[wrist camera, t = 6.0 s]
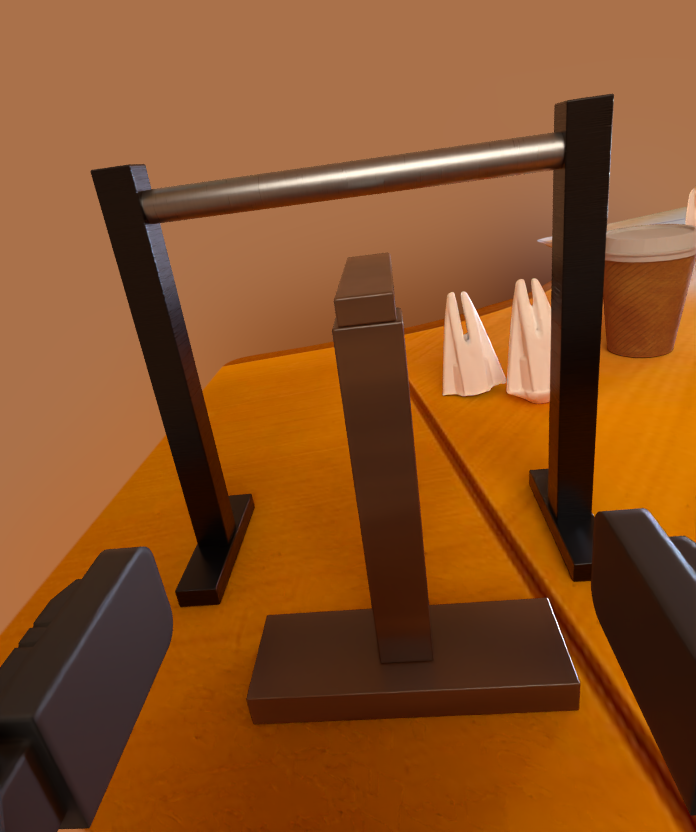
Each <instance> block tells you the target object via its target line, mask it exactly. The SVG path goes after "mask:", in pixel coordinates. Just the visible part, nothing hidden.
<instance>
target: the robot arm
mask: <svg viewBox="0 0 696 832" xmlns="http://www.w3.org/2000/svg"><path fill="white" fill-rule="evenodd" d="M591 591H592V598H593V604H594V608H595V611H596V615H597V617H598V620H599V622H600V624H601V627H602V629H603V631H604V633H605V635H606V637H607V639H608V641H609V644H610V646H611V648H612V650H613V652H614V654H615V656H616V658H617V660H618V663H619V665H620V667H621V669H622V671H623V673H624V675H625V677H626V680H627V682H628V684H629V686H630V688H631V690H632V692H633V694H634V696H635V699H636V701H637V703H638V705H639V707H640V709H641V711H642V713H643V716H644V718H645V720H646V722H647V724H648V726H649V728H650V730H651V732H652V735H653V737H654V739H655V741H656V743H657V745H658V747H659V749H660V751H661V754H662V756H663V758H664V760H665V762H666V764H667V766H668V768H669V771H670V773H671V775H672V777H673V779H674V781H675V783H676V785H677V787H678V790H679V792H680V794H681V796H682V798H683V800H684V802H685V804H686V807H687V809H688V811H689V813H690V815H696V543H695V542H693V541H692V540H690V539H689V538H687V537H686V536H675V537H668V536H667V534H666V533H665V532H664V530H663V529H662V528H661V526H660V525H659V524H658V523H657V521H656V520H655V519H654V517H653V516H652V515H651V513H650V512H649V511H648V510H646V509H644V508H641V509H628V510H615V511H603V512H598V513H597V514H596V516H595V519H594V532H593V553H592V573H591ZM33 625H34V626H33V628H29V630H28V631H27V632H26V634H25V635H24V636H23V638H22V639H21V640H20V642H19V647H18V648H14V650H13V651H12V652H11V654H10V655H9V656H8V658H7V659H6V660H5V662H4V663H3V664H2V666H1V667H0V832H57V831H58V829H83V828H90V826H91V824H92V821H93V819H94V817H95V815H96V812H97V810H98V808H99V805H100V803H101V801H102V798H103V796H104V794H105V792H106V789H107V787H108V785H109V782H110V780H111V778H112V776H113V773H114V771H115V769H116V766H117V764H118V762H119V759H120V757H121V755H122V753H123V750H124V748H125V746H126V743H127V741H128V739H129V737H130V734H131V732H132V730H133V727H134V725H135V723H136V721H137V718H138V716H139V714H140V711H141V709H142V707H143V704H144V702H145V700H146V698H147V695H148V693H149V691H150V688H151V686H152V684H153V682H154V679H155V677H156V675H157V672H158V670H159V668H160V665H161V663H162V661H163V659H164V656H165V654H166V652H167V649H168V647H169V644H170V641H171V637H172V631H173V617H172V611H171V607H170V604H169V601H168V598H167V595H166V592H165V589H164V586H163V583H162V580H161V577H160V574H159V571H158V568H157V565H156V562H155V559H154V556H153V554H152V552H151V551H150V549H149V548H147V547H133V548H120V549H108V550H104V551H103V552H101V553H100V554H99V556H98V557H97V558H96V560H95V561H94V563H93V564H92V565H91V567H90V568H89V570H88V571H87V572H86V574H85V575H84V577H83V578H82V579H76V580H75V581H74V582H73V583H71V584H70V585H69V586H68V587H66V588H65V589H64V590H63V591H61V592H60V593H59V594H58V595H56V596H55V597H54V598H53V599H52V600H50V602H49V603H48V604H47V606H46V607H45V608H44V610H43V611H42V612H41V614H40V615H39V616H38V618H37V619H36V620H35V622H34V623H33Z"/></svg>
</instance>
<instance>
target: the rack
mask: <svg viewBox="0 0 696 832" xmlns="http://www.w3.org/2000/svg"><path fill="white" fill-rule="evenodd" d="M613 101H614V94H607V95H601V96H595V97H587V98H580V99H573V100H567V101H564V102H561V103H557V104H555V112H554V113H555V114H554V133H548V134H540V135H533V136H526V137H519V138H512V139H505V140H498V141H491V142H484V143H477V144H470V145H462V146H455V147H449V148H441V149H434V150H428V151H420V152H413V153H406V154H399V155H392V156H385V157H378V158H371V159H364V160H357V161H350V162H343V163H335V164H328V165H321V166H314V167H307V168H300V169H293V170H286V171H278V172H271V173H264V174H257V175H250V176H243V177H236V178H229V179H222V180H215V181H208V182H201V183H194V184H186V185H179V186H173V187H165V188H159V189H151V186H150V182H149V178H148V174H147V170H146V166H145V165H144V164H133V165H123V166H116V167H109V168H103V169H96V170H91V175H92V178H93V182H94V185H95V189H96V192H97V196H98V199H99V203H100V206H101V210H102V213H103V216H104V220H105V223H106V227H107V230H108V234H109V237H110V241H111V244H112V248H113V251H114V254H115V258H116V262H117V265H118V268H119V272H120V275H121V279H122V282H123V286H124V289H125V292H126V296H127V300H128V303H129V307H130V310H131V314H132V317H133V320H134V324H135V328H136V331H137V334H138V338H139V341H140V345H141V348H142V351H143V355H144V359H145V362H146V365H147V369H148V372H149V376H150V379H151V383H152V386H153V390H154V393H155V397H156V400H157V404H158V407H159V410H160V414H161V417H162V421H163V425H164V428H165V432H166V435H167V439H168V442H169V445H170V449H171V452H172V456H173V459H174V463H175V466H176V470H177V473H178V477H179V480H180V484H181V487H182V491H183V494H184V498H185V501H186V504H187V508H188V511H189V515H190V518H191V522H192V525H193V529H194V532H195V536H196V539H197V543H198V544H197V546H196V548H195V550H194V552H193V555H192V557H191V559H190V561H189V563H188V565H187V567H186V569H185V572H184V574H183V576H182V578H181V580H180V582H179V584H178V586H177V588H176V591H175V593H176V596H177V599H178V602H179V605H180V607H188V606H203V605H219V604H220V602H221V599H222V596H223V594H224V591H225V588H226V585H227V582H228V580H229V577H230V574H231V571H232V568H233V566H234V563H235V560H236V557H237V555H238V552H239V549H240V546H241V543H242V541H243V538H244V535H245V532H246V529H247V527H248V524H249V521H250V518H251V516H252V513H253V510H254V502H253V498H252V494H243V495H231V496H228V493H227V489H226V485H225V481H224V477H223V473H222V469H221V465H220V461H219V457H218V453H217V449H216V445H215V441H214V437H213V433H212V429H211V425H210V421H209V417H208V413H207V409H206V405H205V401H204V397H203V393H202V389H201V385H200V382H199V377H198V373H197V370H196V365H195V361H194V357H193V353H192V349H191V345H190V342H189V337H188V333H187V330H186V325H185V321H184V318H183V314H182V310H181V305H180V301H179V298H178V294H177V289H176V285H175V282H174V277H173V274H172V270H171V266H170V262H169V258H168V254H167V250H166V246H165V242H164V238H163V234H162V230H161V226H160V223H165V222H172V221H180V220H187V219H194V218H202V217H209V216H216V215H223V214H232V213H239V212H247V211H254V210H261V209H269V208H276V207H283V206H291V205H298V204H306V203H313V202H321V201H328V200H335V199H343V198H350V197H358V196H365V195H372V194H380V193H387V192H395V191H402V190H410V189H416V188H423V187H431V186H439V185H446V184H454V183H461V182H469V181H476V180H484V179H491V178H498V177H506V176H513V175H520V174H528V173H536V172H543V171H550V170H554V171H553V172H554V174H553V233H552V235H553V236H552V291H551V351H550V411H549V469H538V470H530V471H529V485H530V487H531V489H532V491H533V493H534V496H535V498H536V500H537V502H538V504H539V507H540V509H541V511H542V513H543V515H544V518H545V520H546V522H547V524H548V526H549V529H550V531H551V533H552V535H553V537H554V540H555V542H556V544H557V546H558V548H559V551H560V553H561V555H562V557H563V559H564V562H565V564H566V566H567V568H568V570H569V573H570V575H571V577H572V579H573V581H574V582H577V581H591V573H592V553H593V532H594V519H595V517H594V516H593V514H592V512H591V511H592V493H593V474H594V456H595V437H596V418H597V400H598V381H599V363H600V344H601V326H602V307H603V288H604V270H605V251H606V233H607V212H608V194H609V177H610V158H611V157H610V156H611V139H612V119H613Z"/></svg>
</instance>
